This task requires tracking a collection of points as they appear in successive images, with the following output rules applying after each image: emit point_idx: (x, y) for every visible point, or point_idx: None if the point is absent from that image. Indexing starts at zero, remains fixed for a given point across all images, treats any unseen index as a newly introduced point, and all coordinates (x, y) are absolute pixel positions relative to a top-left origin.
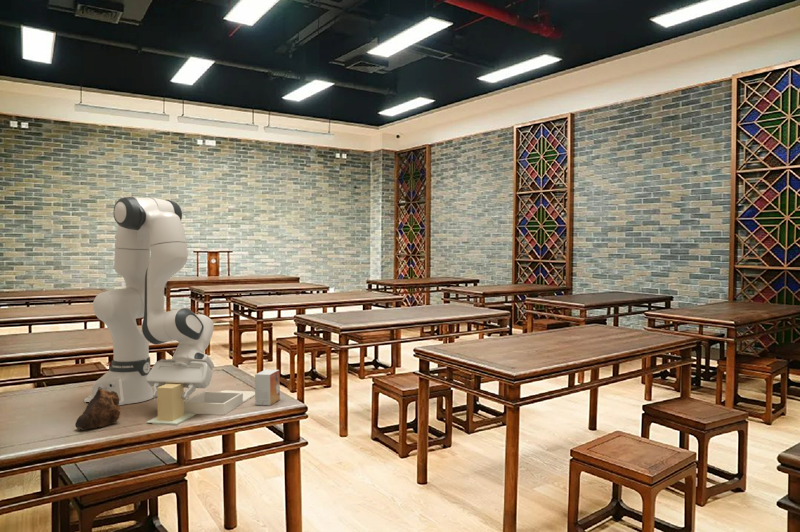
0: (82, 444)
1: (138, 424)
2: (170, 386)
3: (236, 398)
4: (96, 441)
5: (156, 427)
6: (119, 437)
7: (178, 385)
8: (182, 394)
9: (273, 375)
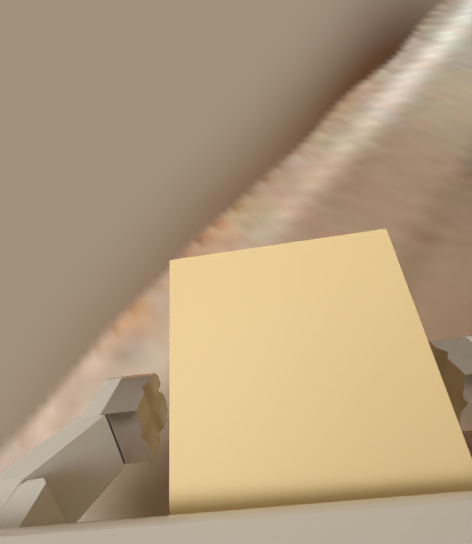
0: (375, 75)
1: None
2: (251, 325)
3: None
4: (357, 101)
5: None
6: (314, 144)
7: (170, 415)
8: (137, 389)
9: None
